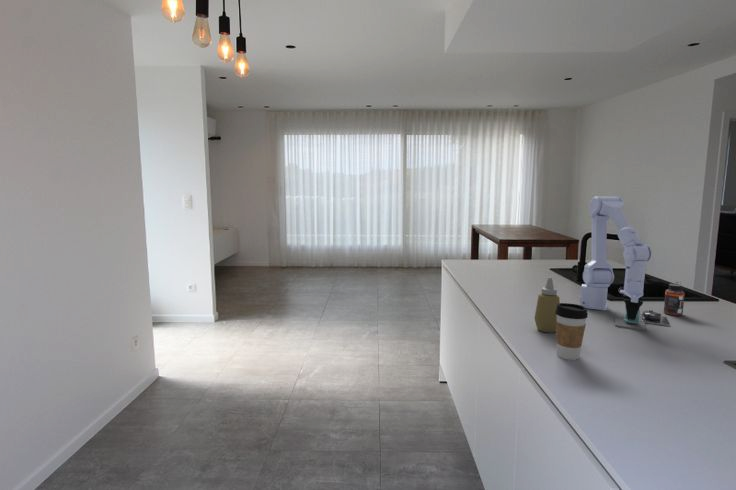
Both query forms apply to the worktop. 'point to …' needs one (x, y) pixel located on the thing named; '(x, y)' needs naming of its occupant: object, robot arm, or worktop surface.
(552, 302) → the squeeze bottle
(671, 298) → the supplement bottle
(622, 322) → the pad
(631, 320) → the cap
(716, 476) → the worktop surface
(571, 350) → the coffee cup
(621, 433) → the worktop surface
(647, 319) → the rotary selector switch
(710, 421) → the worktop surface
